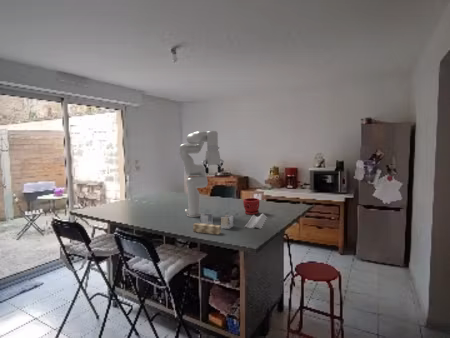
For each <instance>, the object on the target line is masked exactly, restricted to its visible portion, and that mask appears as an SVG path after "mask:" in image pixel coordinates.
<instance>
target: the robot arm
mask: <svg viewBox="0 0 450 338" xmlns="http://www.w3.org/2000/svg"><path fill="white" fill-rule="evenodd" d="M218 137H219V136H218V131H216V130H210V131H205V130H204V131H203V130H202V131H194V132H192V133H188V135H187V136H186V141H187V142H188V143H182V144H180V146H179V148H178V151H179V155H180V158H181V160H182V162H183V167H184V170H185V174H186V176H188V178H187V179H186V182H185V183H186V187H187V201H188V203H187V204H188V207H187V209H185V210H184V213H186V216H187V217H188V218H189V217H191V218H197V217H200V215H202V214H203V213H202V212H201V194H200V191H199V190H198V189H204V188H206V187H207V186H208V185H209V184H208V182H209V181H208V177H207V174H209V173H210V172H209V171H210V169H209V166H212V165H213V166H215V165H216V166H217V173H220V174H221V171H222V166H223V165H224V163H225V160H223V159H222V158H221V155H220V146H219V140H218V139H219V138H218ZM205 143H206V144H207V145H206V148H207V149H206V151H205V157H204V159H203V160H202V161H201V164H198V163H197V164H195V160H194V158H193V157H192V156H191V154H192V155H193V154H200V152H201V151H202V148H203V146H204V144H205Z"/></svg>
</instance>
